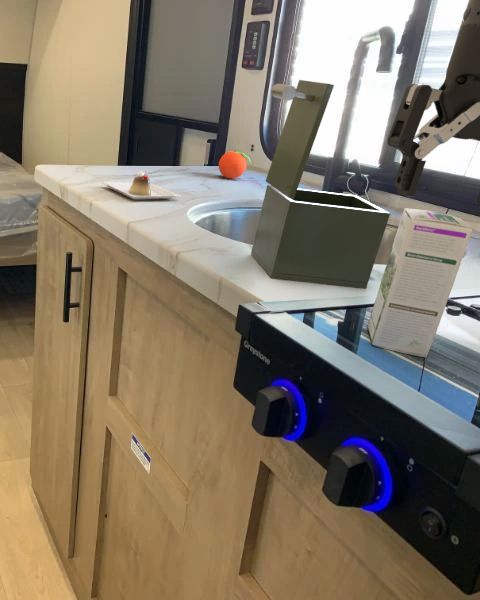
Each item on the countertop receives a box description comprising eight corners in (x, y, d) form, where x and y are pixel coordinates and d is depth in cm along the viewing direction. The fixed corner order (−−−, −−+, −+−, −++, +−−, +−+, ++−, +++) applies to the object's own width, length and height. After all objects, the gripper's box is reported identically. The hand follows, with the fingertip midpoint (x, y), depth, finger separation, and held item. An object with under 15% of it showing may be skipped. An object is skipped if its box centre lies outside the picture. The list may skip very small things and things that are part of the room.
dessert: (180, 201, 122) (184, 177, 120) (131, 201, 116) (135, 177, 114) (146, 187, 132) (150, 165, 130) (100, 187, 126) (103, 164, 124)
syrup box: (428, 359, 63) (478, 227, 58) (369, 345, 65) (412, 216, 59) (418, 338, 69) (464, 215, 63) (363, 326, 70) (403, 205, 65)
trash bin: (336, 263, 93) (356, 195, 89) (366, 288, 83) (390, 213, 79) (250, 254, 93) (267, 184, 88) (270, 278, 83) (290, 201, 79)
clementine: (248, 179, 157) (254, 152, 154) (245, 183, 150) (252, 155, 148) (218, 174, 159) (223, 147, 156) (214, 177, 153) (219, 149, 150)
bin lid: (304, 81, 83) (270, 73, 82) (334, 85, 73) (295, 75, 73) (270, 182, 88) (237, 175, 88) (294, 198, 78) (257, 190, 78)
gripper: (457, 12, 51) (395, 200, 57) (616, 35, 51) (538, 218, 57) (411, 17, 57) (360, 184, 64) (552, 37, 58) (489, 200, 64)
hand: (445, 200), depth 60 cm, fingers open, 8 cm apart
